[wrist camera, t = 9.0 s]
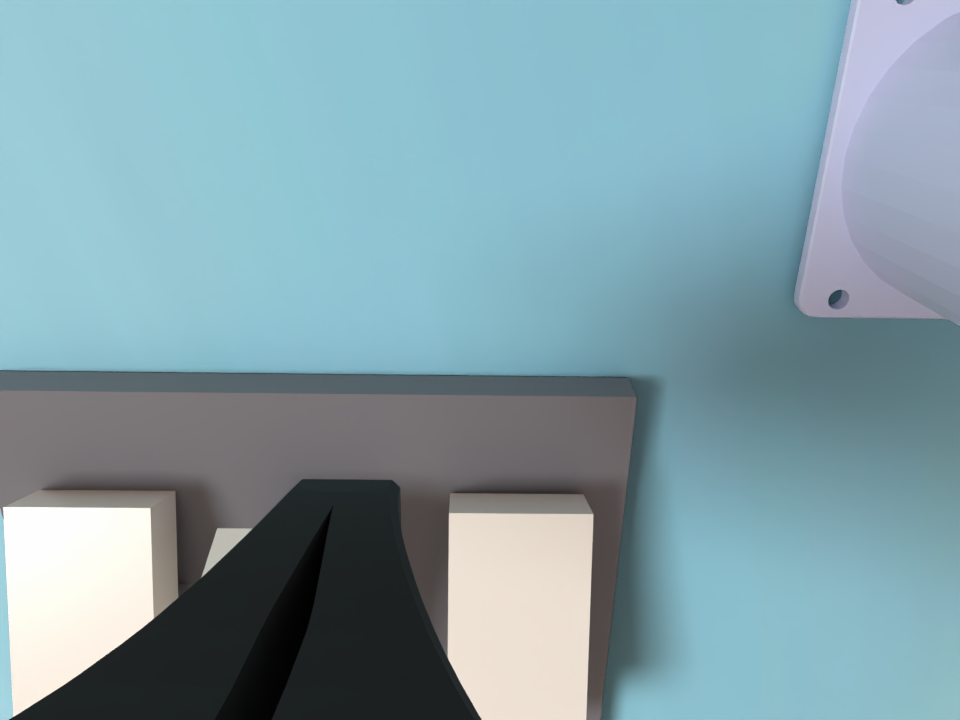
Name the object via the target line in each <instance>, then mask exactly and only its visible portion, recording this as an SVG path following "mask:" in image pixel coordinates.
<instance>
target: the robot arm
mask: <svg viewBox="0 0 960 720" xmlns="http://www.w3.org/2000/svg"><path fill="white" fill-rule="evenodd" d="M837 290H842V296H841V298H840V300H839V301H837V302H836V303H834V304H830V305H829V304H828V299H829V297H830V295H831V294H832V293H833V292H835V291H837ZM794 303H795V305H796V307H797V308H798V309H799V310H800V311H802V312H803V313H804V314H806V315H807V316H810V317H825V318H906V319H947V320H949V321H951V322H952V323H954V324H956V325H958V326H959V327H960V0H905V1H904V2H903V3H901V4H898V3H897V1H896V0H851V5H850V10H849V15H848V20H847V26H846V31H845V36H844V41H843V46H842V51H841V56H840V62H839V67H838V72H837V77H836V82H835V87H834V92H833V98H832V103H831V108H830V113H829V118H828V123H827V128H826V133H825V139H824V144H823V149H822V154H821V159H820V164H819V169H818V175H817V180H816V185H815V190H814V195H813V200H812V205H811V210H810V216H809V221H808V226H807V231H806V236H805V241H804V246H803V252H802V257H801V262H800V267H799V272H798V277H797V282H796V287H795V293H794ZM9 720H482V719H481V718H480V716H479V714H478V713H477V711H476V709H475V707H474V706H473V704H472V702H471V700H470V699H469V697H468V695H467V693H466V692H465V690H464V688H463V686H462V685H461V683H460V681H459V679H458V677H457V675H456V673H455V671H454V669H453V667H452V665H451V663H450V661H449V660H448V658H447V656H446V654H445V651H444V649H443V647H442V645H441V643H440V641H439V639H438V636H437V634H436V632H435V630H434V627H433V625H432V623H431V620H430V618H429V615H428V613H427V610H426V608H425V606H424V603H423V601H422V598H421V595H420V593H419V590H418V587H417V584H416V581H415V578H414V575H413V572H412V568H411V565H410V562H409V559H408V555H407V552H406V548H405V544H404V540H403V536H402V530H401V496H400V487H399V486H398V485H397V484H396V483H395V482H394V481H393V480H362V479H302V480H301V481H300V482H299V483H297V484H296V485H295V486H294V487H293V488H292V489H291V490H290V491H289V492H288V493H287V494H286V495H285V496H284V497H283V498H282V499H281V500H280V501H279V502H278V503H277V504H276V505H275V506H274V507H273V508H272V509H271V510H270V511H269V512H268V513H267V514H266V515H265V517H264V518H263V519H262V520H261V521H260V522H259V523H258V524H257V525H256V526H255V527H254V528H253V529H252V530H251V531H250V532H249V533H248V534H247V535H246V536H245V537H244V538H243V539H242V540H240V541H239V542H238V543H237V544H236V545H235V546H234V547H233V548H232V549H231V550H230V551H229V552H228V553H227V554H226V555H225V556H224V557H223V558H222V559H221V560H220V561H219V562H217V563H216V564H215V565H214V566H213V567H212V568H211V569H210V570H209V571H208V572H207V573H206V574H205V575H204V576H203V577H201V578H200V579H199V580H198V581H197V582H196V583H195V584H193V585H192V586H191V587H190V588H189V589H188V590H187V591H185V592H184V593H183V594H182V595H181V596H180V597H178V598H177V599H176V600H175V601H174V602H173V603H172V604H170V605H169V606H168V607H167V608H166V609H165V610H163V611H162V612H161V613H160V614H159V615H158V616H156V617H155V618H154V619H153V620H152V621H150V622H149V623H148V624H147V625H145V626H144V627H143V628H141V629H140V630H139V631H138V632H136V633H135V634H134V635H132V636H131V637H130V638H128V639H127V640H126V641H125V642H123V643H122V644H121V645H119V646H118V647H117V648H115V649H114V650H112V651H111V652H110V653H108V654H107V655H105V656H104V657H103V658H101V659H100V660H99V661H97V662H96V663H94V664H93V665H92V666H90V667H89V668H87V669H86V670H85V671H83V672H82V673H81V674H79V675H78V676H76V677H75V678H73V679H72V680H70V681H69V682H67V683H66V684H64V685H63V686H61V687H60V688H58V689H57V690H55V691H54V692H52V693H50V694H49V695H47V696H46V697H44V698H43V699H41V700H39V701H38V702H36V703H35V704H33V705H32V706H30V707H28V708H27V709H25V710H24V711H22V712H20V713H19V714H17V715H16V716H14V717H13V718H11V719H9Z"/></svg>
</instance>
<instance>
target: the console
mask: <svg viewBox="0 0 960 720" xmlns="http://www.w3.org/2000/svg"><path fill="white" fill-rule="evenodd" d="M636 402H637V396H636V394H635V391H634V389H633V387H632V385H631V383H630V381H629V379H628V378H623V377H529V376H434V375H339V374H244V373H150V372H55V371H0V509H1V512H2V516H3V519H4V512H3V507H5V506H7V505H9V504H11V503H13V502H15V501H17V500H19V499H22V498H24V497H26V496H28V495H30V494H32V493H34V492H36V491H38V490H147V491H175V493H176V532H177V570H178V597H180V596H181V595H182V594H183V593H184V592H185V591H187V590H188V589H189V588H190V587H191V586H192V585H193V584H195V583H196V582H197V581H198V580H199V579H200V578H201V577H202V574H203V571H204V568H205V565H206V562H207V559H208V555H209V552H210V549H211V546H212V543H213V540H214V537H215V534H216V531H217V528H248V529H253V528H254V527H255V526H256V525H257V524H258V523H259V522H260V521H261V520H262V519H263V518H264V517H265V515H266V514H267V513H268V512H269V511H270V510H271V509H272V508H273V507H274V506H275V505H276V504H277V503H278V502H279V501H280V500H281V499H282V498H283V497H284V496H285V495H286V494H287V493H288V492H289V491H290V490H291V489H292V488H293V487H294V486H295V485H296V484H297V483H299V482H300V481H301V480H302V479H362V480H393V481H394V482H395V483H396V484H397V485H398V486H399V487H400V496H401V530H402V536H403V540H404V544H405V548H406V552H407V555H408V559H409V562H410V565H411V568H412V572H413V575H414V578H415V581H416V584H417V587H418V590H419V593H420V595H421V598H422V601H423V603H424V606H425V608H426V610H427V613H428V615H429V618H430V620H431V623H432V625H433V627H434V630H435V632H436V634H437V636H438V639H439V641H440V643H441V645H442V647H443V649H444V651H445V654H446V656H447V658H448V561H449V504H450V493H492V494H584V496H585V498H586V500H587V502H588V504H589V506H590V508H591V510H592V512H593V542H592V570H591V598H590V627H589V655H588V683H587V712H586V720H600V719H601V710H602V701H603V693H604V684H605V675H606V666H607V657H608V649H609V640H610V631H611V622H612V613H613V605H614V596H615V587H616V578H617V569H618V561H619V552H620V543H621V534H622V525H623V517H624V508H625V499H626V490H627V482H628V473H629V464H630V455H631V446H632V438H633V429H634V420H635V411H636Z"/></svg>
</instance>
